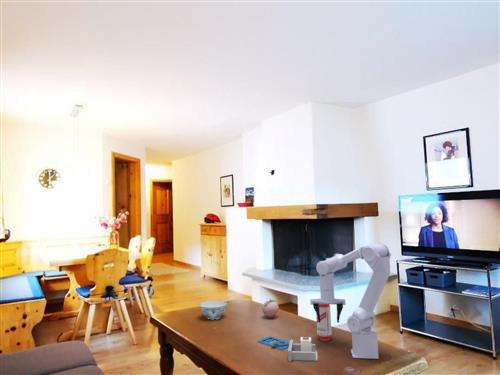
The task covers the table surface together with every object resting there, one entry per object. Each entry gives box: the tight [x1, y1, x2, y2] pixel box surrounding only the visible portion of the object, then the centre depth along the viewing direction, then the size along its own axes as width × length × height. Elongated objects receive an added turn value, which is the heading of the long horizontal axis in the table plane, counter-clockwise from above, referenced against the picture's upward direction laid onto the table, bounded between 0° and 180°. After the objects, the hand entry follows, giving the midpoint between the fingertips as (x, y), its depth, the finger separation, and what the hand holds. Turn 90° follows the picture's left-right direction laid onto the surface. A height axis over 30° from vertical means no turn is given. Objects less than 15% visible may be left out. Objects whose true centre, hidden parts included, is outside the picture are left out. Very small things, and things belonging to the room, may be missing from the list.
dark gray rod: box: [270, 342, 297, 349], centre depth 152 cm, size 10×1×1 cm, turn 100°
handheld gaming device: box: [257, 335, 290, 351], centre depth 156 cm, size 8×1×15 cm
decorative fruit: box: [261, 299, 280, 319], centre depth 195 cm, size 9×8×10 cm
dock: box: [287, 339, 318, 363], centre depth 141 cm, size 11×12×4 cm
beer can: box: [315, 304, 333, 342], centre depth 160 cm, size 6×6×16 cm
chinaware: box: [199, 300, 228, 321], centre depth 198 cm, size 15×15×8 cm
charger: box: [300, 336, 312, 352], centre depth 142 cm, size 4×4×6 cm
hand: (328, 321), depth 153 cm, fingers open, 7 cm apart
